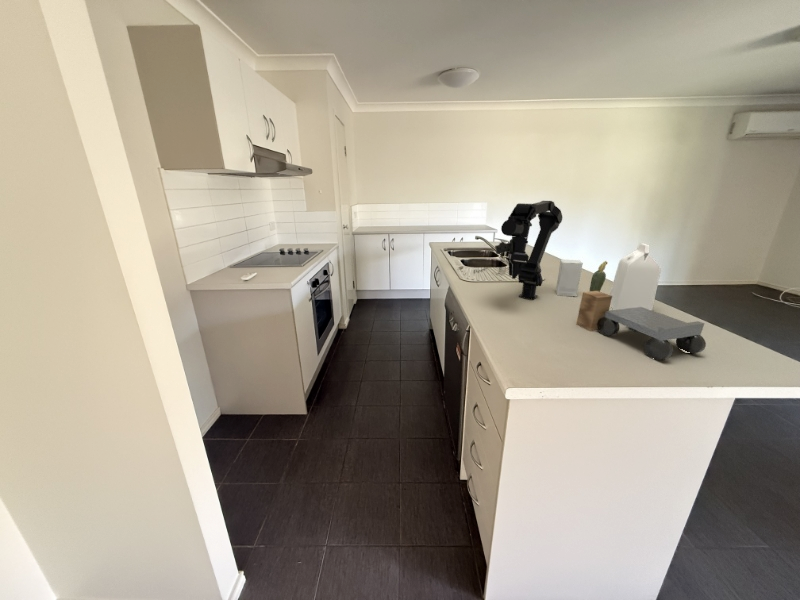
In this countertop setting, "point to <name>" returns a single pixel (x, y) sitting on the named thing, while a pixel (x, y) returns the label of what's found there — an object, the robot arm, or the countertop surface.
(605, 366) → the countertop surface
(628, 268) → the milk
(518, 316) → the countertop surface
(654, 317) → the trolley
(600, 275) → the vegetable
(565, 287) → the skincare box
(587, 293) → the block
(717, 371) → the countertop surface
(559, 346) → the countertop surface
